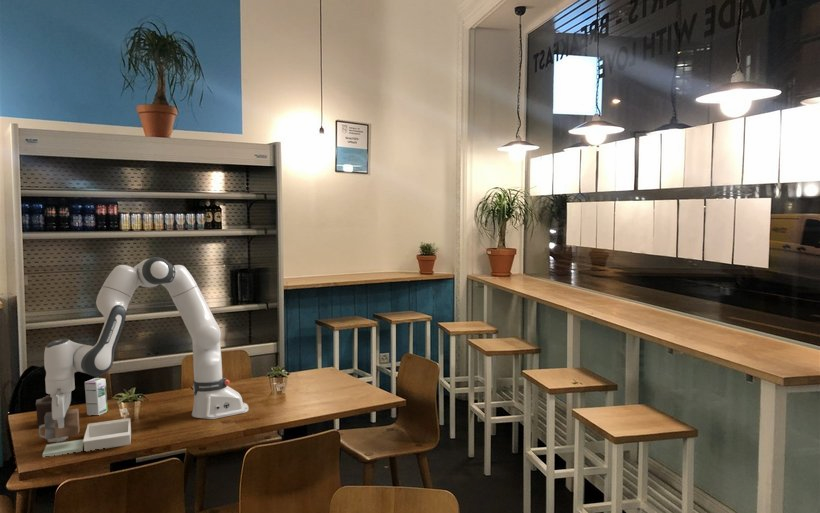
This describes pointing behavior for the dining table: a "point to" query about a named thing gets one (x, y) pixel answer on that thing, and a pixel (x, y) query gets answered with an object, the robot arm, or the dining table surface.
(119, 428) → the tray
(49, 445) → the green board
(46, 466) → the dining table surface
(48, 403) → the pepper mill
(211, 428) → the dining table surface
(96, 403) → the syrup box
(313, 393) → the dining table surface
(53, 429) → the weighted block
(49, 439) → the mug
